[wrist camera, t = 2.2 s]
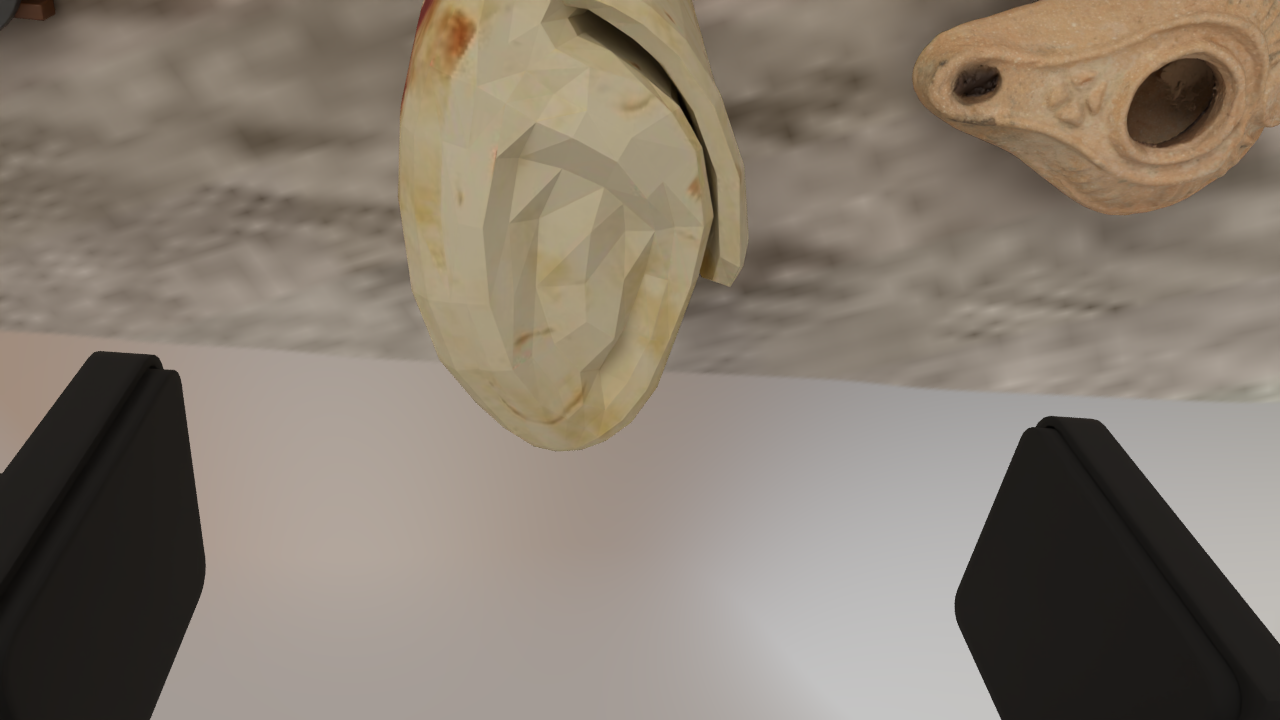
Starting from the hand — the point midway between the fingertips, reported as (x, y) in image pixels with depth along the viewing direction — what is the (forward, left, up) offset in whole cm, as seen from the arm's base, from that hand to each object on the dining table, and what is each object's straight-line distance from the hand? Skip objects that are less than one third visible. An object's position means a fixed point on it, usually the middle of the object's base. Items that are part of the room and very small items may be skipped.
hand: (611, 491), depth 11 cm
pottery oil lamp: (+18, 0, -25) cm, 31 cm away
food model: (0, 0, -25) cm, 25 cm away
